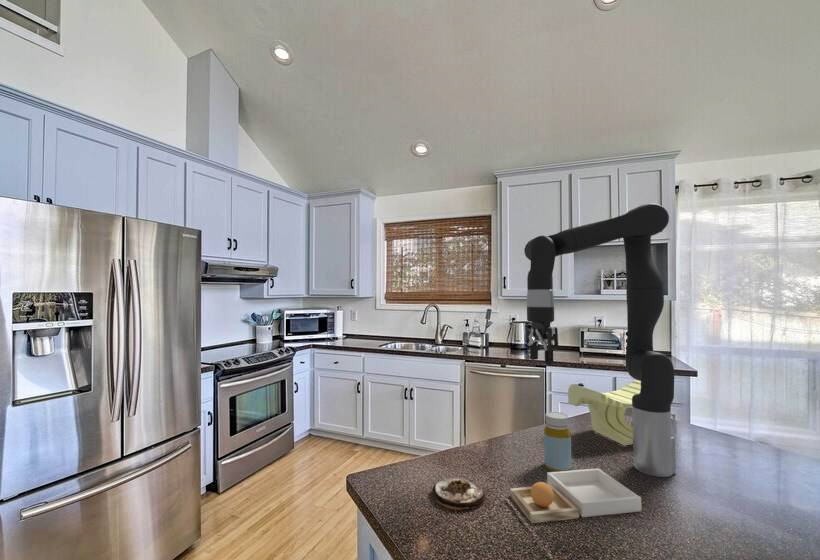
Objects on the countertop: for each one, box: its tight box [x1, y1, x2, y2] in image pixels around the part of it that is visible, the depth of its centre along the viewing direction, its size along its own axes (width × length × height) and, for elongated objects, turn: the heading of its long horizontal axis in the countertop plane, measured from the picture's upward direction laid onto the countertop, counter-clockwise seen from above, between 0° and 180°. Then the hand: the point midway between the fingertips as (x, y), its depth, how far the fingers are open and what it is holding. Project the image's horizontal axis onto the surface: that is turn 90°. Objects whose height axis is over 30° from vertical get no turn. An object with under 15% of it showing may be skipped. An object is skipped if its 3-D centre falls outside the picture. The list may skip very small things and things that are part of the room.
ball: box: [531, 481, 554, 507], centre depth 86 cm, size 5×5×5 cm
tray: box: [509, 485, 580, 524], centre depth 86 cm, size 11×11×2 cm
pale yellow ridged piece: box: [567, 379, 641, 445], centre depth 131 cm, size 30×16×18 cm, turn 105°
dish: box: [546, 468, 642, 518], centre depth 90 cm, size 15×15×4 cm
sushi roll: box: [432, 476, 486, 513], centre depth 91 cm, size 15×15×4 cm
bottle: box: [543, 411, 572, 472], centre depth 106 cm, size 7×7×15 cm
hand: (541, 361), depth 107 cm, fingers open, 8 cm apart
